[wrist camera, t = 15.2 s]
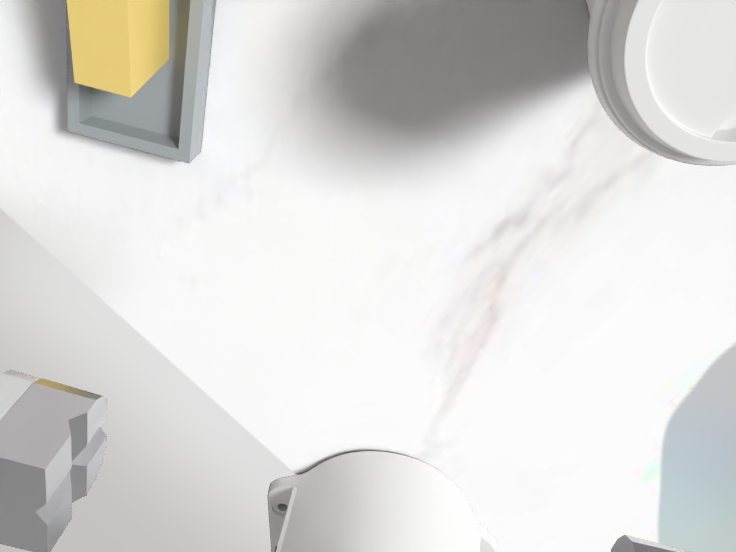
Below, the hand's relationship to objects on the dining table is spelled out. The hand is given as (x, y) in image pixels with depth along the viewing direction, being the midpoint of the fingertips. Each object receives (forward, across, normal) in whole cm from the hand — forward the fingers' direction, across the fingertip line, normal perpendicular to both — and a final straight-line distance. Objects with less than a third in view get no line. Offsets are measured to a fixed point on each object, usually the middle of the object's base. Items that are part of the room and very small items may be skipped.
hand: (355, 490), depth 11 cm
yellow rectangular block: (+30, +16, -1) cm, 34 cm away
